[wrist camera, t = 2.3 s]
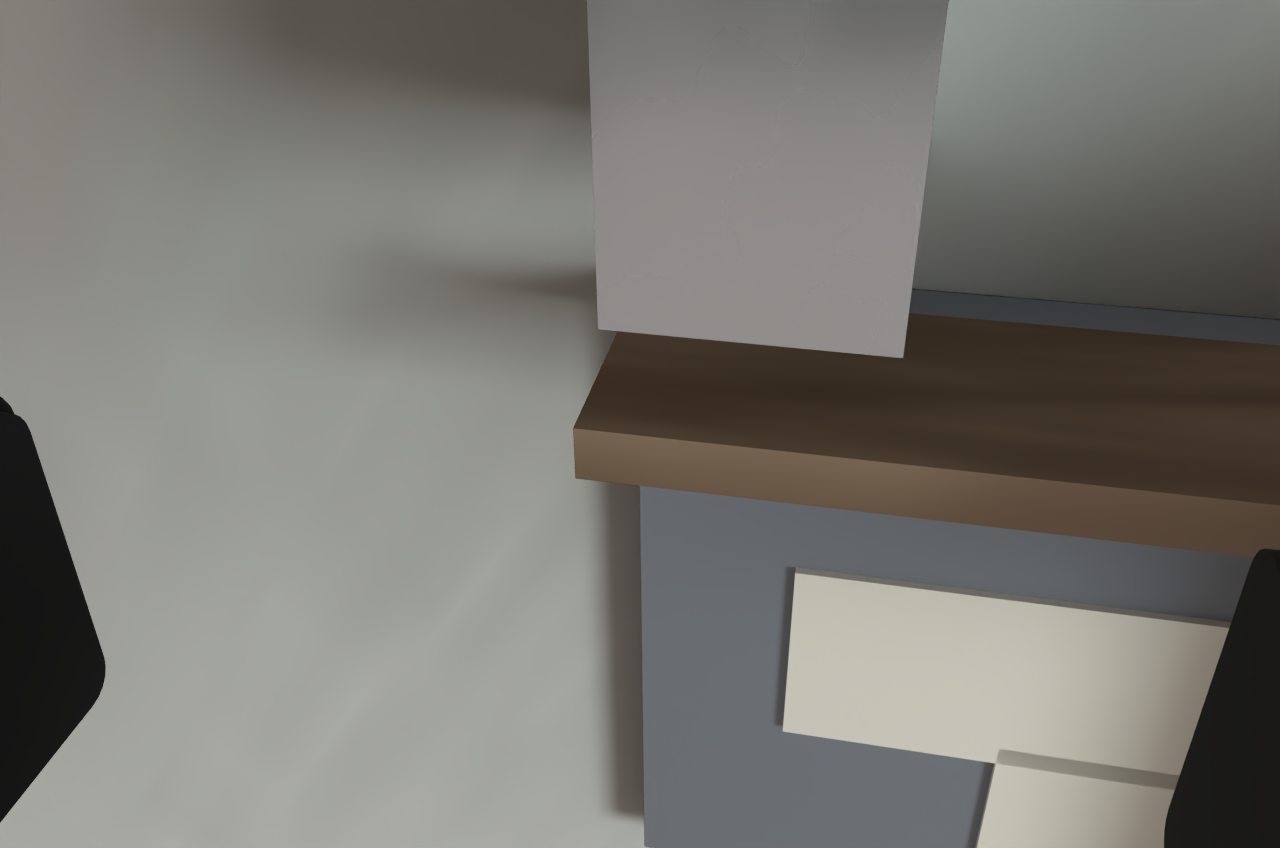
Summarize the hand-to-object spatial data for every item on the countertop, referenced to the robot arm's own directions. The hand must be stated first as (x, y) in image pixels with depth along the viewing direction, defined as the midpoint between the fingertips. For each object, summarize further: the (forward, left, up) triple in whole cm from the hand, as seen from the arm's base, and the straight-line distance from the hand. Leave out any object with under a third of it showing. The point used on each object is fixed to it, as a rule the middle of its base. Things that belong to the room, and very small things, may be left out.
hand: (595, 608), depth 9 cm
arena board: (+13, +6, -15) cm, 21 cm away
